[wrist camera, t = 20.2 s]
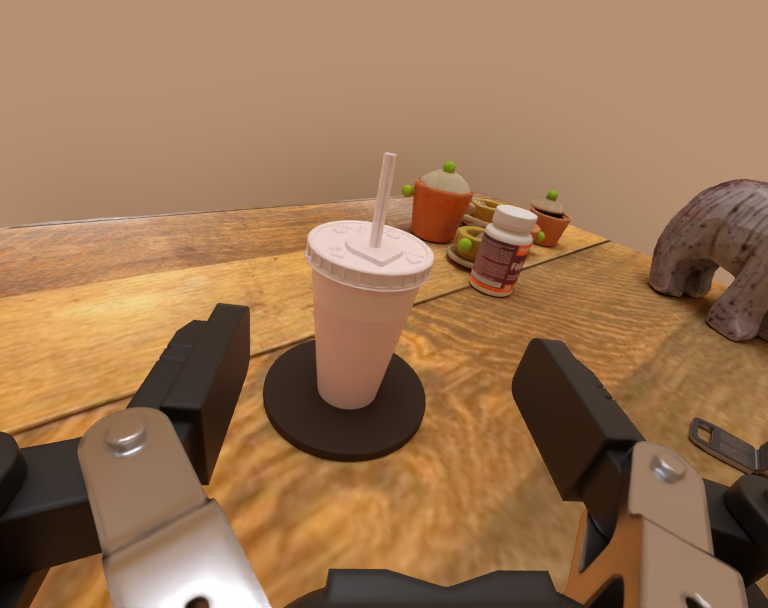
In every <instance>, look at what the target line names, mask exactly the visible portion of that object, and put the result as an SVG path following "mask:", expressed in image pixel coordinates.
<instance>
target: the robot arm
mask: <svg viewBox="0 0 768 608" xmlns="http://www.w3.org/2000/svg"><path fill="white" fill-rule="evenodd" d="M249 359H250V310H249V307H248V306H241V305H232V304H223V303H218V304H217V305H216V307H215V309H214V310H213V312H212V314H211V316H210V317H209V319H208V321H200V320H193V321H191V322H190V323H188V324H187V325H185V326H184V327H182V328H181V329H179V330H178V331H177V332H176V333H175V335H174V336H173V338H172V339H171V341H170V342H169V344H168V347H167V348H166V349H165V350H164V352H163V353H162V355H161V356H160V359H159V361H157V362H156V364H155V365H154V367H153V368H152V370H151V371H150V373H149V374H148V376H147V377H146V379H145V380H144V382H143V383H142V385H141V386H140V388H139V389H138V391H137V392H136V394H135V395H134V397H133V398H132V400H131V401H130V403H129V404H128V406H127V407H126V409H124V410H120V411H117V412H114V413H112V414H110V415H108V416H106V417H104V418H102V419H100V420H99V421H97V422H96V423H95V424H94V425H92V426H91V427H90V428H89V429H88V430H87V431H86V432H85V434H84V435H83V436H82V437H79V438H75V439H70V440H65V441H60V442H54V443H49V444H43V445H38V446H32V447H27V448H21V449H19V446H18V444H17V442H16V441H15V439H14V438H13V437H12V436H11V435H9V434H7V433H4V432H0V608H29V607H30V605H31V603H32V601H33V599H34V597H35V595H36V594H37V592H38V590H39V588H40V586H41V584H42V582H43V581H44V579H45V577H46V575H47V573H48V571H49V570H50V568H51V567H54V566H57V565H61V564H64V563H67V562H71V561H74V560H78V559H81V558H85V557H88V556H92V555H95V554H99V553H103V557H102V563H103V569H104V573H105V577H106V582H107V586H108V590H109V594H110V598H111V602H112V606H113V608H272V607H271V605H270V603H269V601H268V599H267V597H266V595H265V593H264V591H263V589H262V587H261V585H260V583H259V581H258V579H257V577H256V575H255V573H254V571H253V569H252V567H251V565H250V563H249V561H248V559H247V557H246V555H245V554H244V552H243V550H242V548H241V546H240V544H239V542H238V540H237V538H236V536H235V534H234V532H233V530H232V528H231V526H230V524H229V522H228V520H227V518H226V516H225V514H224V512H223V510H222V508H221V507H220V505H219V503H218V502H217V501H216V500H215V499H214V498H212V499H209V498H208V497H207V495H206V493H205V491H204V489H203V487H202V485H209V482H210V479H211V476H212V474H213V471H214V468H215V465H216V462H217V459H218V456H219V453H220V450H221V447H222V444H223V442H224V439H225V436H226V433H227V430H228V427H229V424H230V421H231V418H232V415H233V413H234V410H235V407H236V404H237V401H238V398H239V395H240V392H241V389H242V386H243V384H244V381H245V378H246V375H247V371H248V366H249ZM512 394H513V398H514V400H515V402H516V404H517V406H518V408H519V410H520V412H521V415H522V417H523V419H524V421H525V423H526V425H527V427H528V429H529V431H530V433H531V435H532V437H533V439H534V442H535V444H536V446H537V448H538V450H539V452H540V454H541V456H542V458H543V460H544V462H545V464H546V466H547V468H548V471H549V473H550V475H551V477H552V479H553V481H554V483H555V485H556V487H557V489H558V491H559V493H560V495H561V498H562V500H563V501H578V502H584V504H585V506H586V509H585V511H584V512H583V513H582V515H581V518H580V523H579V528H578V533H577V538H576V544H575V549H574V554H573V559H572V564H571V570H570V575H569V579H568V583H567V586H566V588H565V591H564V593H563V594H561V593H559V592H556V590H555V588H554V585H553V582H552V580H551V577H550V575H549V572H548V571H503V570H498V571H495V572H492V573H489V574H486V575H483V576H480V577H477V578H474V579H471V580H468V581H465V582H462V583H459V584H456V585H454V586H450V587H443V586H439V585H436V584H433V583H429V582H426V581H423V580H419V579H416V578H413V577H410V576H406V575H403V574H400V573H397V572H393V571H390V570H387V569H329V572H328V577H327V581H326V586H325V587H324V588H321V589H318V590H315V591H312V592H310V593H308V594H306V595H304V596H302V597H299V598H298V599H296V600H294V601H293V602H291V603H290V604H288V605H287V606H285V607H284V608H768V599H767V598H766V597H765V595H764V594H763V592H762V591H761V590H760V588H759V587H758V586H757V584H756V583H755V582H757V581H758V580H759V579H761V578H762V577H764V576H765V575H766V574H768V479H766V478H763V477H760V476H757V475H752V474H746V475H743V476H741V477H740V478H739V479H738V480H737V481H736V482H735V483H734V484H733V485H732V486H731V487H728V486H725V485H722V484H719V483H716V482H713V481H710V480H707V479H704V478H701V476H700V475H699V473H698V472H697V470H696V469H695V468H694V467H693V466H692V465H691V464H690V463H689V462H688V461H687V460H686V459H685V458H683V457H682V456H681V455H679V454H678V453H676V452H675V451H673V450H671V449H670V448H668V447H666V446H663V445H661V444H658V443H655V442H651V441H646V440H645V439H644V437H643V436H642V435H641V433H640V432H639V431H638V430H637V428H636V427H635V426H634V424H633V423H632V422H631V421H630V419H629V418H628V417H627V415H626V414H625V413H624V412H623V410H622V409H621V408H620V407H619V405H618V404H617V403H616V401H615V400H612V396H611V395H610V394H609V392H608V391H607V390H606V389H605V388H603V385H602V383H601V382H600V381H599V380H598V378H597V377H596V376H595V374H594V373H593V372H592V371H591V370H589V369H588V368H587V367H586V366H584V365H583V364H582V363H581V362H579V361H578V360H577V359H576V358H575V357H574V356H573V354H572V353H571V352H570V350H569V349H568V348H567V346H566V345H565V344H564V343H563V342H562V341H559V340H550V339H540V338H534V339H532V340H531V341H530V343H529V344H528V347H527V349H526V351H525V353H524V355H523V357H522V359H521V362H520V364H519V366H518V368H517V370H516V372H515V375H514V377H513V380H512Z"/></svg>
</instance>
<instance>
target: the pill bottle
mask: <svg viewBox="0 0 768 608" xmlns="http://www.w3.org/2000/svg"><path fill="white" fill-rule="evenodd" d="M537 218H538V217H537V216H536V215H535V214H534V213H532V212H530V211H527V210H525V209H522V208H518V207H514V206H509V205H498V206H497V207H496V210H495V213H494V215H493V219H492V220H493V223H490V224H488V225H487V227H486V228H485V231H484V234H483V237H482V240H481V244H480V247H479V250H478V253H477V255H476V259H475V262H474V265H473V268H472V271H471V274H470V277H469V281H470V284H471V285H472V286H473V287H474V288H476V289H477V290H479V291H481V292H483V293H485V294H488V295H491V296H497V297H504V296H508V295H510V294H511V293H512V291H513V289H514V286H515V284H516V281H517V279H518V277H519V274H520V272H521V269H522V267H523V264H524V262H525V259H526V257H527V254H528V252H529V249H530V247H531V245H532V241H533V238H532V235H531V234H530V233H529V232H532V231H533V229H534V227H535V224H536V221H537Z"/></svg>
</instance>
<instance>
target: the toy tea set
mask: <svg viewBox="0 0 768 608" xmlns="http://www.w3.org/2000/svg"><path fill="white" fill-rule="evenodd" d="M454 171H455V164H454V163H453V162H450V161H449V162H446V163H445V164H444V166H443V170H436V171H433V172H430V173H428V174H426V175H425V176H423V177H422V178H418V179H417V180H416V182H415V187H414V188H413V187H412V186H410V185H405V186H404V187H403V188H402V193H403V195H404V196H406V197H410V196H412V195H414V200H413V213H412V226H411V228H412V232H413V233H414V234H415V235H416V236H418V237H420V238H422V239H425V240H428V241H432V242H439V243H445V242H449V241H451V240H452V239H453V237H454V235H455V233H456V231H457V229H458V227H459V225H460V222H461V220H462V221H463V222H464V223H465V224H466V225H468V226H463V227H460V228H459V230H458V237H457V243H454V244H451V245H449V246H448V248H447V254H448V256H449V257H450V258H451V259H452V260H454V261H455V262H457V263H458V264H460V265H463V266H465V267H468V268H471V269H472V268H473V265H474V262H475V259H476V255H477V253H478V250H479V247H480V244H481V240H482V237H483V234H484V231H485V228H486V227H487V225H488V224H490V223H493V220H492V219H493V215H494V213H495V210H496V207H497V206H498V205H506V204H505V203H502V204H501V203H499V202H496V201H492V200H488V199H480V198H475V197H474V198H472V191H471V190H470V188H469V186H468V184H467V183H466V181H465V180H464V179H463V178H462V177H461V176H460V175H458V174H457V173H455V172H454ZM557 197H558V193H557V192H556V191H554V190H552V191H549V192H548V194H547V198H538V199H535V200H533V201H531V205H532V207H531V210H530V212H532V213H534V214H535V215H536V216H537V217H538V218H537V221H536V224H535V227H534V229H533V231H532V232H529V233H530V234H531V235H532V238H533V241H532V244H533V243H535V244H538V245H542V246H554V245H555V244H556V243H557V241H558V240H559V238H560V237H561V235H562V234H563V232H564V230H565V229H566V227H567V226H568V224H569V222H570V221H571V217H570V216H569V215H567V214H565V213H564V212H565V211H564V208H563V207H562V205H561V204H560V203H559V202H557V201H556V199H557ZM471 202H472V203H471ZM531 246H532V245H531Z"/></svg>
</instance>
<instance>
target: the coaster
mask: <svg viewBox="0 0 768 608" xmlns="http://www.w3.org/2000/svg"><path fill="white" fill-rule="evenodd" d="M263 397H264V406H265V410H266V413H267V415H268V417H269V420H270V421H271V423H272V424H273V426H274V427H275V429H276V430H277V431H278V432H279V433H280V434H281V435H282V436H283V437H284V438H285V439H286V440H288V441H289V442H290V443H291V444H293V445H295V446H296V447H298V448H300V449H301V450H304V451H306V452H308V453H310V454H313V455H316V456H319V457H322V458H326V459H331V460H338V461H363V460H369V459H374V458H378V457H381V456H384V455H386V454H389V453H391V452H393V451H395V450H397V449H398V448H400V447H401V446H403V445H404V444H405V443H406V442H408V441H409V440H410V439H411V437H412V436H413V435H414V434H415V433H416V431H417V429H418V428H419V426H420V423H421V421H422V418H423V415H424V411H425V393H424V389H423V386H422V383H421V381H420V379H419V377H418V376H417V374H416V373H415V371H414V370H413V369H412V368H411V367H410V366H409V365H408V364H407V363H406V362H405V361H404V360H403V359H402V358H400V357H399V356H398V355H396V354H395V353H393V355H392V357H391V359H390V362H389V364H388V367H387V369H386V372H385V374H384V377H383V379H382V382H381V384H380V387H379V389H378V391H377V394H376V396H375V398H374V400H373V401H372V402H371V403H370V404H368V405H367V406H365V407H362V408H359V409H341V408H337V407H335V406H332V405H330V404H329V403H327V402H326V401H325V400H324V399H323V398H322V397H321V395H320V394H319V391H318V385H317V364H316V343H315V340H311V341H308V342H305V343H302V344H300V345H297V346H295V347H293V348H291V349H290V350H288V351H286V352H285V353H284V354H282V355H281V356H280V357H279V358H278V359H277V360H276V361H275V362H274V364H273V365H272V366H271V368H270V369H269V371H268V373H267V376H266V379H265V382H264V390H263Z"/></svg>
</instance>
